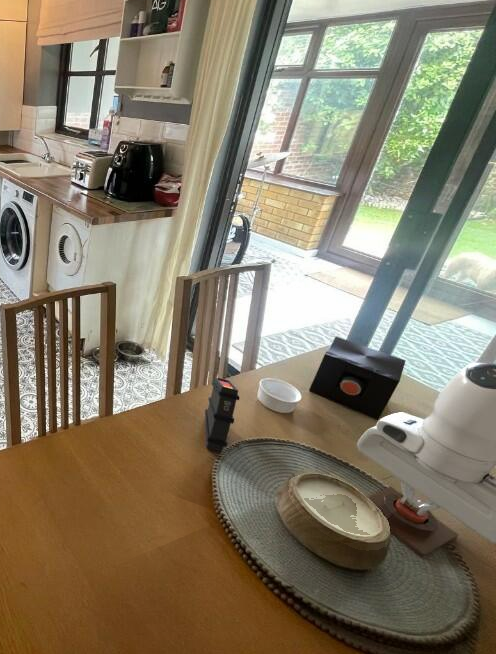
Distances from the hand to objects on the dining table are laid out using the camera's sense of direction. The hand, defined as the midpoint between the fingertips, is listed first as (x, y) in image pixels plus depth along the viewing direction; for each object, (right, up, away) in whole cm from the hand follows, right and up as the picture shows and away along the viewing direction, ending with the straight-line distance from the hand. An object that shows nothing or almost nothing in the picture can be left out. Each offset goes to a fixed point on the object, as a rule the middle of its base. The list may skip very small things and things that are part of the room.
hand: (412, 508), depth 73 cm
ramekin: (-2, +9, +32) cm, 33 cm away
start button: (0, -2, +1) cm, 2 cm away
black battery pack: (-23, +5, +23) cm, 33 cm away
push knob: (+14, +13, +28) cm, 34 cm away
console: (+19, +10, +35) cm, 41 cm away
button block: (0, -5, +2) cm, 5 cm away
